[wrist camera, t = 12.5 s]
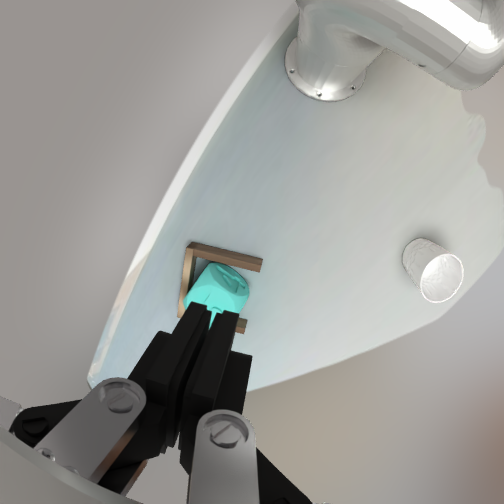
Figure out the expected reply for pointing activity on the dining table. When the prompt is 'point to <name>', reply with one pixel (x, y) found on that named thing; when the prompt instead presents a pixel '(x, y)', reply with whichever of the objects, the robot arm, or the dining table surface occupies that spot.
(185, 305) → the decorative dice
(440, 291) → the white cup
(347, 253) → the dining table surface
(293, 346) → the dining table surface
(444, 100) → the dining table surface
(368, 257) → the dining table surface
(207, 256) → the corral
